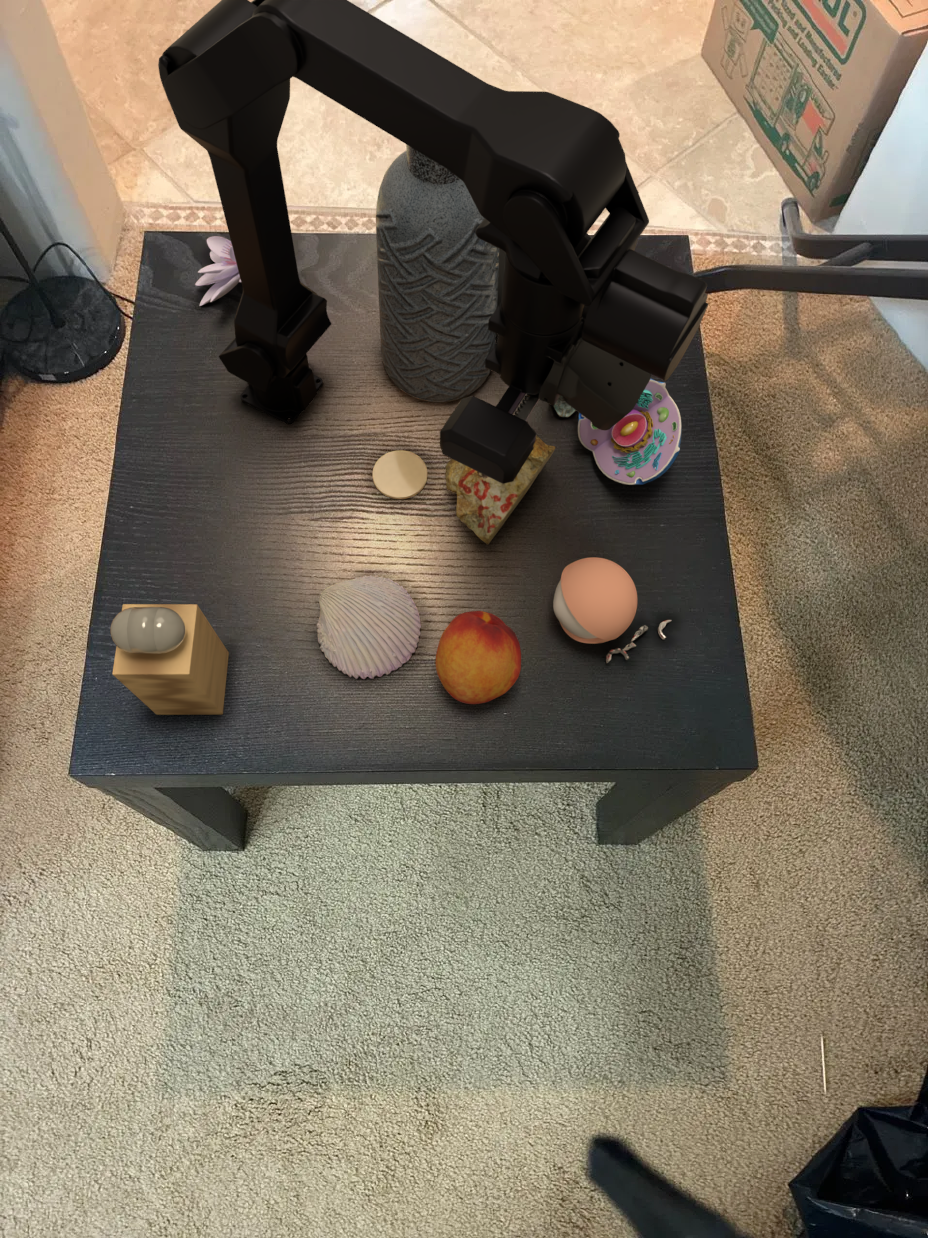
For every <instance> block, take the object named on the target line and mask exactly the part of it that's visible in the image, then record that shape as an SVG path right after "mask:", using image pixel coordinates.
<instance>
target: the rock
mask: <svg viewBox="0 0 928 1238" xmlns="http://www.w3.org/2000/svg"><path fill="white" fill-rule="evenodd" d="M533 447H534V449H533V450H532V452H531V453H530V455H529V457H528V458H527V460H526V462H525V463H524V465H523V466H522V468H521V470H520V471H519V473H518V474H517V476H516V478H515V479H514V481H513V482H509V483H505V484H502V483H500V482H498V481H496V480H494V479H492V478H490V477H488V476H486V475H484V474H482V473H480V472H478V471H476V470H474V469H472V468H469V467H467V466H465V465H463V464H461V463H459V462H457V461H455V460H453V459H451V458H450V460H449V461H448V462H447V464H446V465H445V467H444V468H445V473H444V477H445V486H446V490H447V491H449V492H452V493H453V494H456V507H455V511H456V514H455V515H456V517H457V518H458V519H459V521H460V522H462V523H463V524H464V525H465V526H466V527H467V529H469V530H472V531H473V532H474V534H475V536H476V537H477V538H478V539H480V540H481V541H482V542H484V544H485V545H487V546H488V545H489V544H490V543H491V542H492V540H493V539H494V538H495V536H496V535H497V533H498V532H499V531H500V530H501V528H502V527H503V526H504V524H505V523H506V521H508V518H509V517H511V514H512V513H513V512H514V510H515V509H516V508H517V506H518V505H519V504H520V502H521V500H523V498H524V497H525V495H526V493H527V492H528V491H529V489H530V488H531V486H532V485H533V483H534V482H535V480H536V479H537V477H539V476H538V475H539V474H540V473H541V472H542V470H543V469H544V467H545V465H546V464H547V462H548V461H549V460H550V458H551V457H552V455H553V454H554V452H555V450H556V448H557V447H556V446H554V445H549V444H546V443H545V442H544V441H543V440H542V438H540V437H539V436H538V435H537V434H536V439H535V443H534V445H533Z"/></svg>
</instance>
